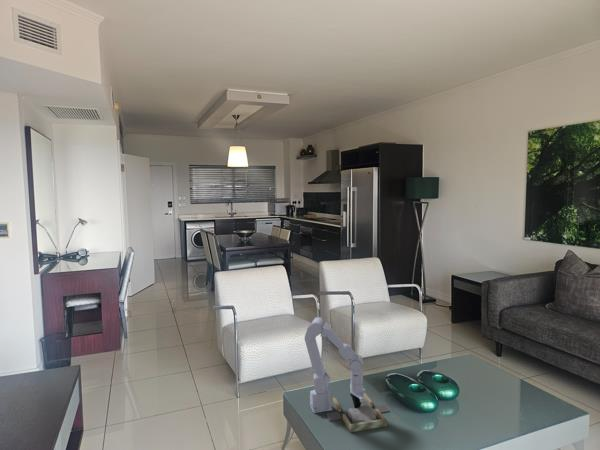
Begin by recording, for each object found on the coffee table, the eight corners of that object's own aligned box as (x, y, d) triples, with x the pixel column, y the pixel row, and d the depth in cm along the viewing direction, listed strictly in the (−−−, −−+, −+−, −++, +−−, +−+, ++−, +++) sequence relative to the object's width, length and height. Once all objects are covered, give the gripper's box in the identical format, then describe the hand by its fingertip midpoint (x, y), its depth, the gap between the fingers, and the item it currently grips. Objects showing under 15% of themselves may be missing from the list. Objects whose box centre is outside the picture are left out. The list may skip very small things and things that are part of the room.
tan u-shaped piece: (350, 432, 172) (350, 425, 172) (332, 402, 197) (332, 396, 197) (386, 426, 176) (386, 419, 176) (365, 397, 201) (365, 391, 200)
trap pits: (329, 421, 181) (329, 420, 181) (325, 414, 187) (325, 413, 187) (389, 411, 187) (389, 410, 187) (384, 405, 193) (384, 404, 193)
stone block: (378, 426, 180) (369, 410, 189) (379, 417, 178) (370, 402, 188) (354, 431, 177) (346, 415, 186) (354, 422, 176) (346, 406, 185)
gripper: (370, 387, 181) (371, 416, 182) (359, 373, 195) (359, 400, 196) (356, 390, 179) (356, 418, 180) (345, 375, 193) (346, 402, 194)
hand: (357, 408), depth 188 cm, fingers closed
